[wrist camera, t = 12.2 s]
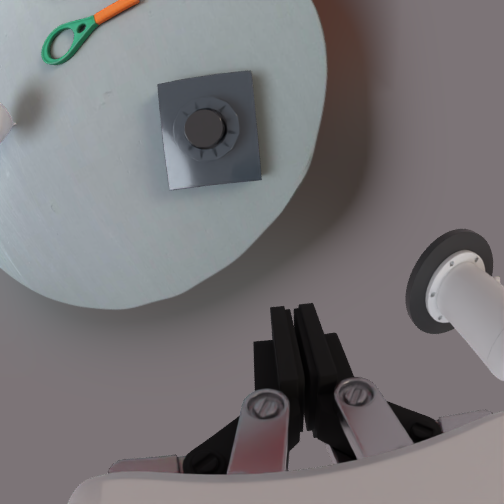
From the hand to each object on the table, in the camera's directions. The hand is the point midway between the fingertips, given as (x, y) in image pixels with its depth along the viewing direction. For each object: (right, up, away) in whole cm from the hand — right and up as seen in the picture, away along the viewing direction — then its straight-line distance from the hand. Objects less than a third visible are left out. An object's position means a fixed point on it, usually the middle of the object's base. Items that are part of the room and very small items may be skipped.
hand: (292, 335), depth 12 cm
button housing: (-6, +17, +20) cm, 27 cm away
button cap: (-6, +15, +16) cm, 23 cm away
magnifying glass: (-23, +32, +14) cm, 42 cm away
